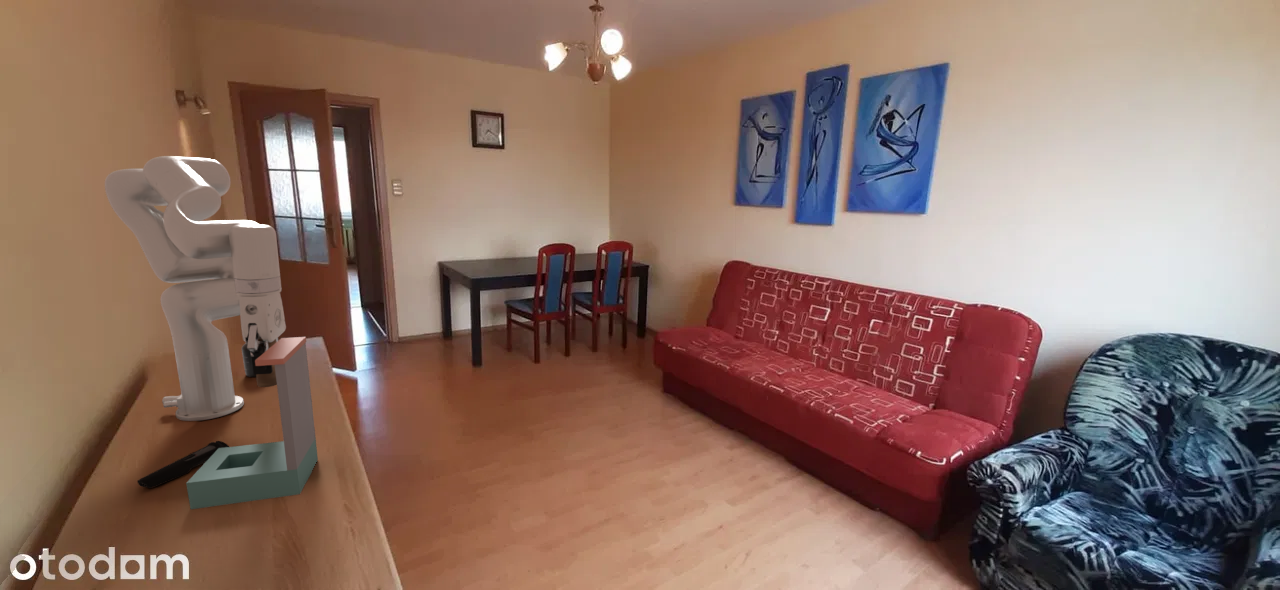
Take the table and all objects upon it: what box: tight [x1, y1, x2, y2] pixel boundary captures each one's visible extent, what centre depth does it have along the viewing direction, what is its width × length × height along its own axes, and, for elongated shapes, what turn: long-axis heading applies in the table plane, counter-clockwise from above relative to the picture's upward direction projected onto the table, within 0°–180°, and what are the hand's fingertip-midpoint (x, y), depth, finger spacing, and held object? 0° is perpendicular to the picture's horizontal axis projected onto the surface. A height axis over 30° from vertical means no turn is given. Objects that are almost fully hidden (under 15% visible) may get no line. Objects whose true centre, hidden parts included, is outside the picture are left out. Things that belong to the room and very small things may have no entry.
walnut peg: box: [255, 338, 277, 388], centre depth 106 cm, size 4×4×10 cm
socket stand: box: [185, 336, 319, 510], centre depth 91 cm, size 16×13×26 cm
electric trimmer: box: [136, 440, 230, 489], centre depth 96 cm, size 4×16×3 cm, turn 170°
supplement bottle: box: [241, 342, 256, 378], centre depth 144 cm, size 7×7×12 cm
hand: (267, 368), depth 106 cm, fingers closed on walnut peg, 4 cm apart
